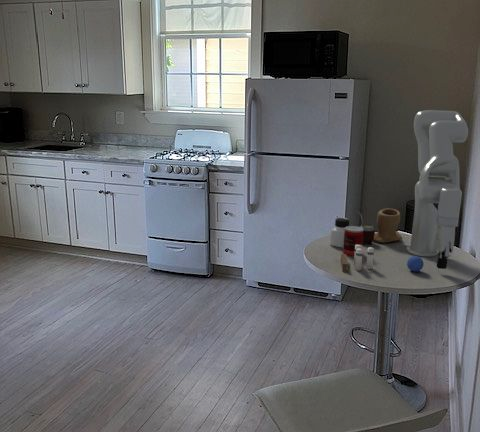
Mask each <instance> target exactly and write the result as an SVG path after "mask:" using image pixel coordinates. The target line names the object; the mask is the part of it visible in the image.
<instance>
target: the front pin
mask: <svg viewBox="0 0 480 432" xmlns="http://www.w3.org/2000/svg"><path fill="white" fill-rule="evenodd" d="M374 254H375V247H370V246H369V247H367V254H366V263H365V264H366V265H365V268H366V269H367V270H372V269H373V265H374Z"/></svg>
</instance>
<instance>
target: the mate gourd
mask: <svg viewBox="0 0 480 432" xmlns="http://www.w3.org/2000/svg"><path fill="white" fill-rule="evenodd" d="M356 213H358V214H359V215H360V219H361V223H362V224H361V225H360V226H359V227H361V228H363V241H362V246H365V245H366V244H367V245H374V244H373V241H374V240H373V239H374V235H375V234H376V233H375V232H376V231H375V227H374V225H371V224H364V220H363V219H364V217H363V215H362V214H361V213H360V212H359V211H357V210H356Z"/></svg>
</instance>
